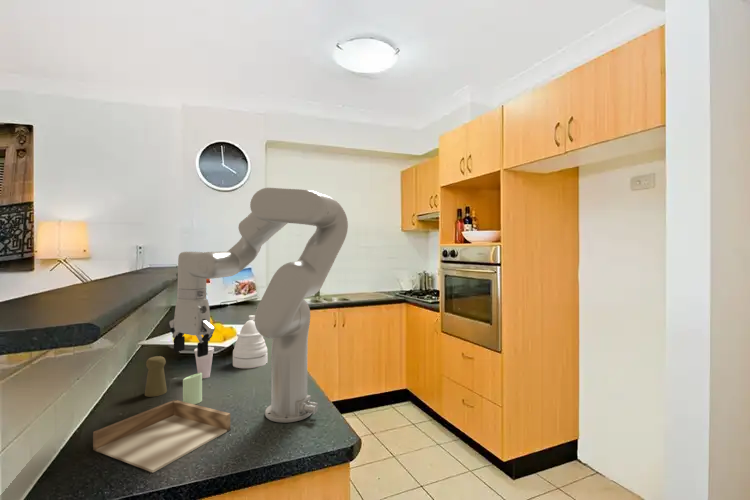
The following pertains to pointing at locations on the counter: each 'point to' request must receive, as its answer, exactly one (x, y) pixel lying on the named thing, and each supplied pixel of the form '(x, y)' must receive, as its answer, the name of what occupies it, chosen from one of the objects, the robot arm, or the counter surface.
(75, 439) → the counter surface
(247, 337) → the honey pot
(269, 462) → the counter surface
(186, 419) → the wooden tray
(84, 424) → the counter surface
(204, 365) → the smoothie
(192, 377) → the candle
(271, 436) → the counter surface
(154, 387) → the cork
